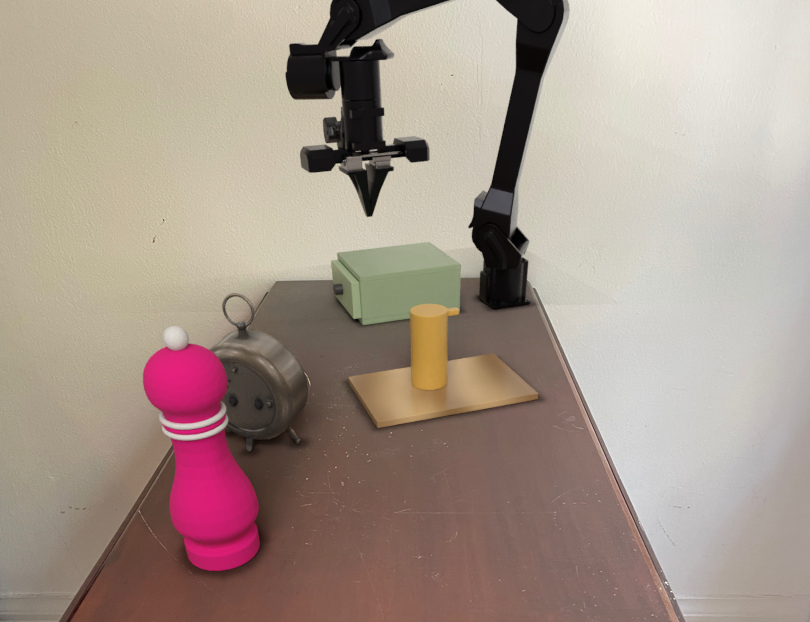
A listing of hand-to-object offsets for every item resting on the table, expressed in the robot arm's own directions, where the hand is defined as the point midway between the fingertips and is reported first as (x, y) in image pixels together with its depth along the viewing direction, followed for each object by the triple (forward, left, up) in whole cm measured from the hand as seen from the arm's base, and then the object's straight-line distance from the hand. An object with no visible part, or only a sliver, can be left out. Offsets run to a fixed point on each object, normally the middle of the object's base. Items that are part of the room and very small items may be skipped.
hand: (368, 216), depth 109 cm
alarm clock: (+26, +44, -12) cm, 53 cm away
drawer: (0, +7, -11) cm, 13 cm away
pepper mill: (+32, +62, -12) cm, 71 cm away
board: (+3, +39, -12) cm, 41 cm away
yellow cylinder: (+4, +38, -11) cm, 40 cm away
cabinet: (-2, +7, -12) cm, 14 cm away
